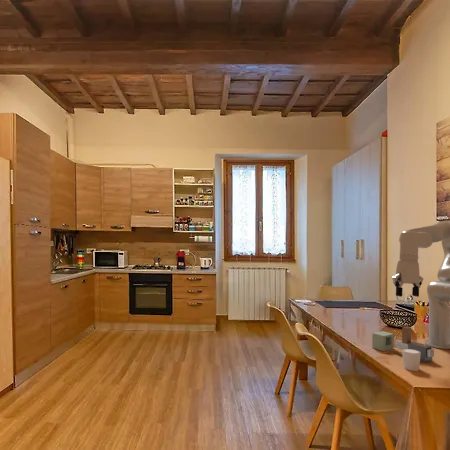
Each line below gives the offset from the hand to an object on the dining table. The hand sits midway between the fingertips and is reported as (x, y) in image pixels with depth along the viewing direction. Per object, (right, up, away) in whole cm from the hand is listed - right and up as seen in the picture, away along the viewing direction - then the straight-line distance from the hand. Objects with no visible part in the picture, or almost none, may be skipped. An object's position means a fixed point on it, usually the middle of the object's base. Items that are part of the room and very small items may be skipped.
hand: (407, 296), depth 175 cm
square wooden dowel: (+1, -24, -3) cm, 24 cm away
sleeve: (+2, -26, -6) cm, 27 cm away
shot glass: (-7, -26, -18) cm, 33 cm away
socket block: (-7, -27, +9) cm, 29 cm away
